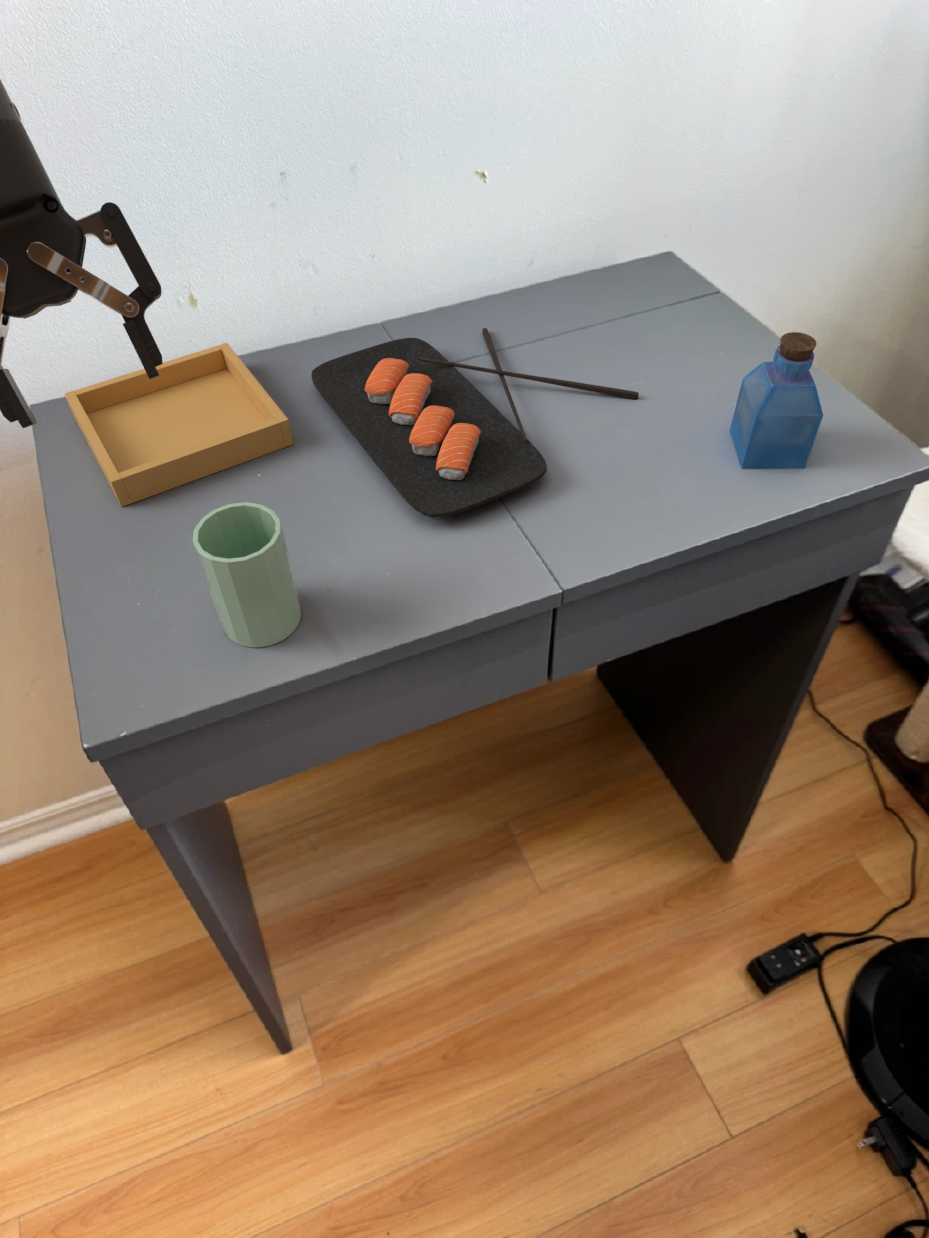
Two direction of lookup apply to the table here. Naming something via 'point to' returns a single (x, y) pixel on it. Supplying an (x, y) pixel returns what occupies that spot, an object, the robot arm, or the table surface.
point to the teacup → (248, 573)
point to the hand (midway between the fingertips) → (93, 401)
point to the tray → (178, 422)
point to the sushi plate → (434, 424)
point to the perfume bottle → (778, 408)
